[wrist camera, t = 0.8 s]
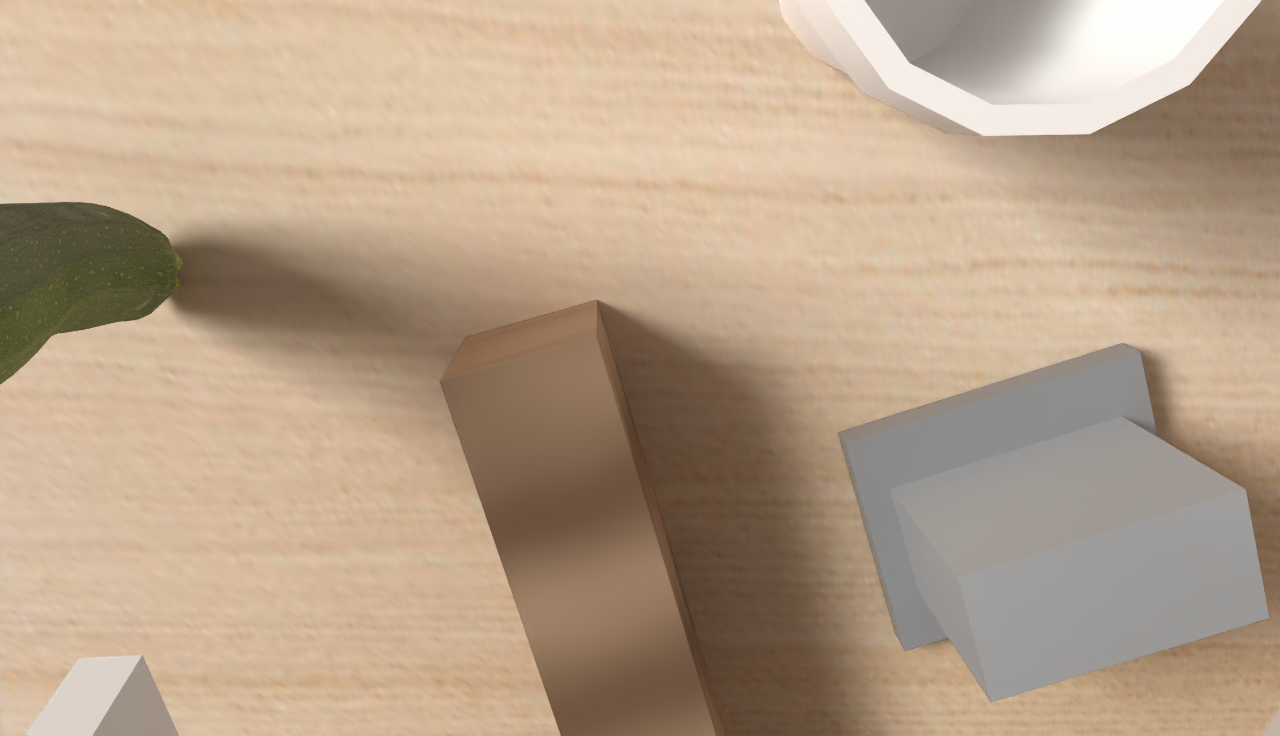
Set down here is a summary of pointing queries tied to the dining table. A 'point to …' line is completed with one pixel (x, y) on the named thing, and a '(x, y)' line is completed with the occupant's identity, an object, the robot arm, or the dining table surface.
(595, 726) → the bar
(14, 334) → the vegetable
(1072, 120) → the foam cup
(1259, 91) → the dining table surface
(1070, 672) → the grey stepped block
